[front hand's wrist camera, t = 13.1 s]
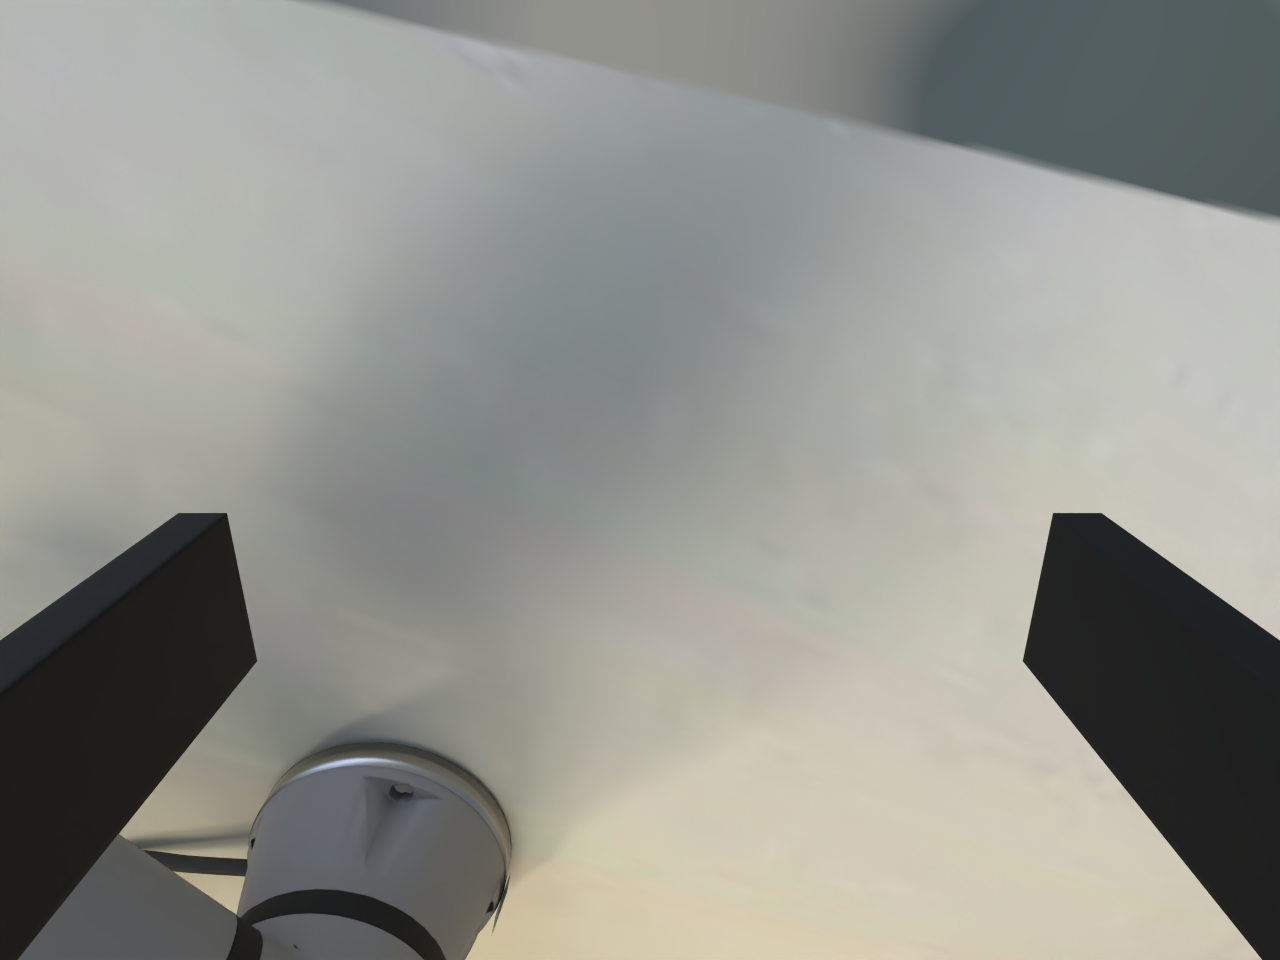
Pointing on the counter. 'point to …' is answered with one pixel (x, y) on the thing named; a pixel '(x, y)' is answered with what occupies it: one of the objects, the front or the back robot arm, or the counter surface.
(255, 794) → the counter surface
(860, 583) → the counter surface
